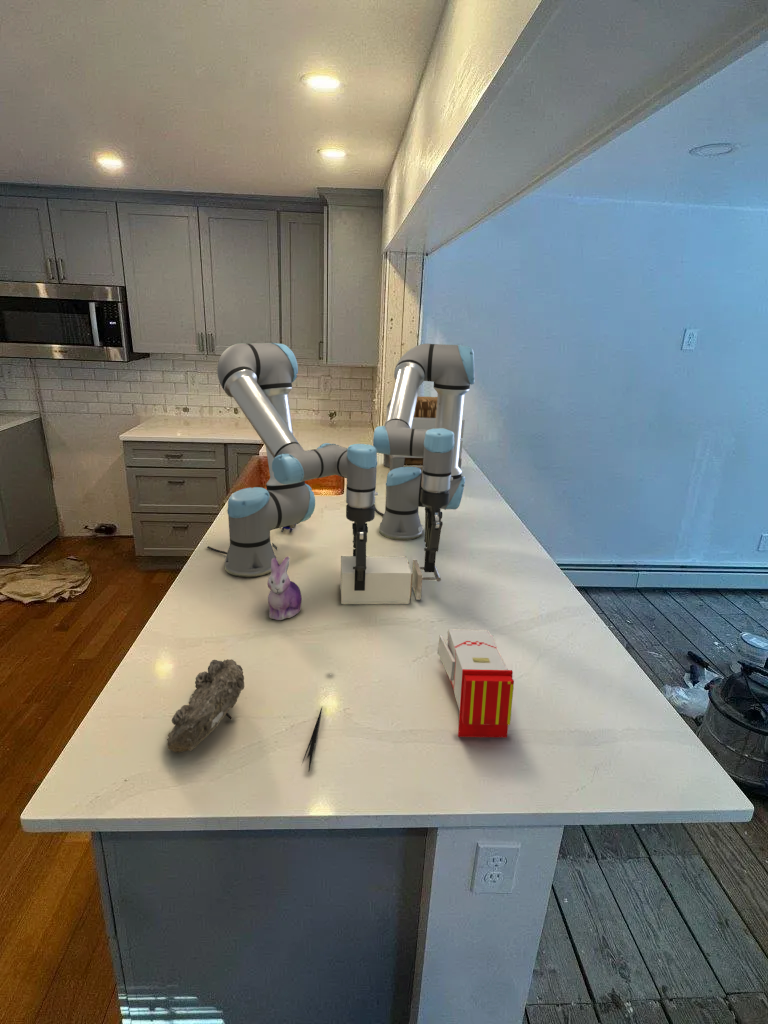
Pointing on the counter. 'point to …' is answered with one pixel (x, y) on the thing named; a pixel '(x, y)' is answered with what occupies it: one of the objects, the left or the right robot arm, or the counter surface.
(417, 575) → the drawer
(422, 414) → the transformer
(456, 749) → the counter surface
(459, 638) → the toy
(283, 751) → the counter surface
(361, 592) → the cabinet
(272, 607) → the figurine
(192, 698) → the fossil
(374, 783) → the counter surface
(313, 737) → the feather
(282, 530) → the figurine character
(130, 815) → the counter surface
